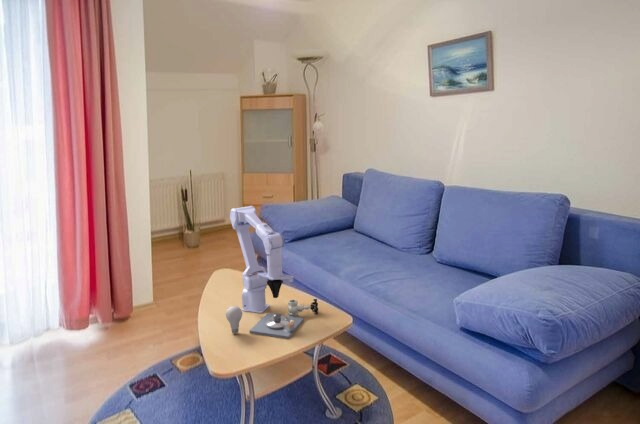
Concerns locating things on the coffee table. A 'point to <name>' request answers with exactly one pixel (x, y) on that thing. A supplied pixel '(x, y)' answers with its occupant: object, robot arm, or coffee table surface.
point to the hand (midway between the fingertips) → (275, 297)
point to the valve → (301, 307)
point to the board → (281, 333)
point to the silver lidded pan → (279, 322)
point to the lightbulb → (234, 318)
